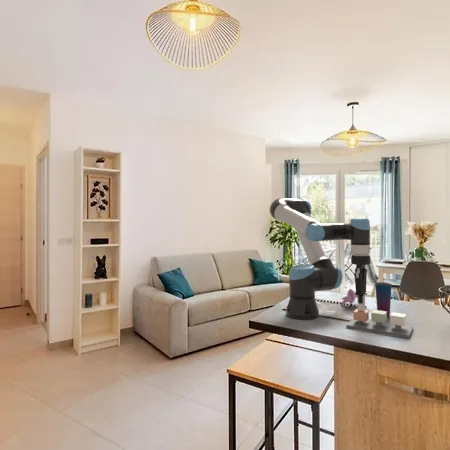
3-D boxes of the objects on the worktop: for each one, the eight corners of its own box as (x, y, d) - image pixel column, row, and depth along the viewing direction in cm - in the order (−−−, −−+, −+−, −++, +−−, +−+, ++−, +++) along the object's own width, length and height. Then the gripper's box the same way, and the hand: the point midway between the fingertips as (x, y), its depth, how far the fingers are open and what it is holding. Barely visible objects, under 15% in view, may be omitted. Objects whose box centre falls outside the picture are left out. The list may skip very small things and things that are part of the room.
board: (346, 327, 136) (346, 319, 136) (354, 319, 147) (353, 312, 147) (409, 338, 123) (409, 329, 123) (413, 328, 133) (412, 320, 133)
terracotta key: (353, 319, 138) (353, 311, 138) (356, 316, 142) (356, 308, 142) (366, 321, 135) (366, 313, 135) (368, 318, 139) (368, 310, 139)
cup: (393, 318, 147) (393, 285, 147) (377, 318, 149) (377, 285, 148) (389, 314, 154) (389, 282, 154) (373, 313, 155) (373, 282, 155)
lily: (365, 306, 171) (357, 289, 175) (370, 303, 160) (361, 285, 164) (343, 314, 172) (335, 296, 176) (346, 311, 161) (338, 292, 165)
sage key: (371, 321, 134) (371, 312, 134) (373, 318, 138) (373, 309, 138) (384, 323, 131) (384, 314, 131) (386, 319, 135) (386, 311, 135)
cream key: (390, 324, 130) (390, 315, 130) (392, 320, 134) (392, 312, 134) (404, 326, 127) (404, 317, 127) (406, 322, 131) (406, 314, 131)
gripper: (366, 256, 131) (367, 315, 131) (373, 253, 141) (374, 308, 142) (347, 255, 135) (348, 312, 135) (355, 253, 146) (355, 305, 146)
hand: (361, 310), depth 139 cm, fingers closed
